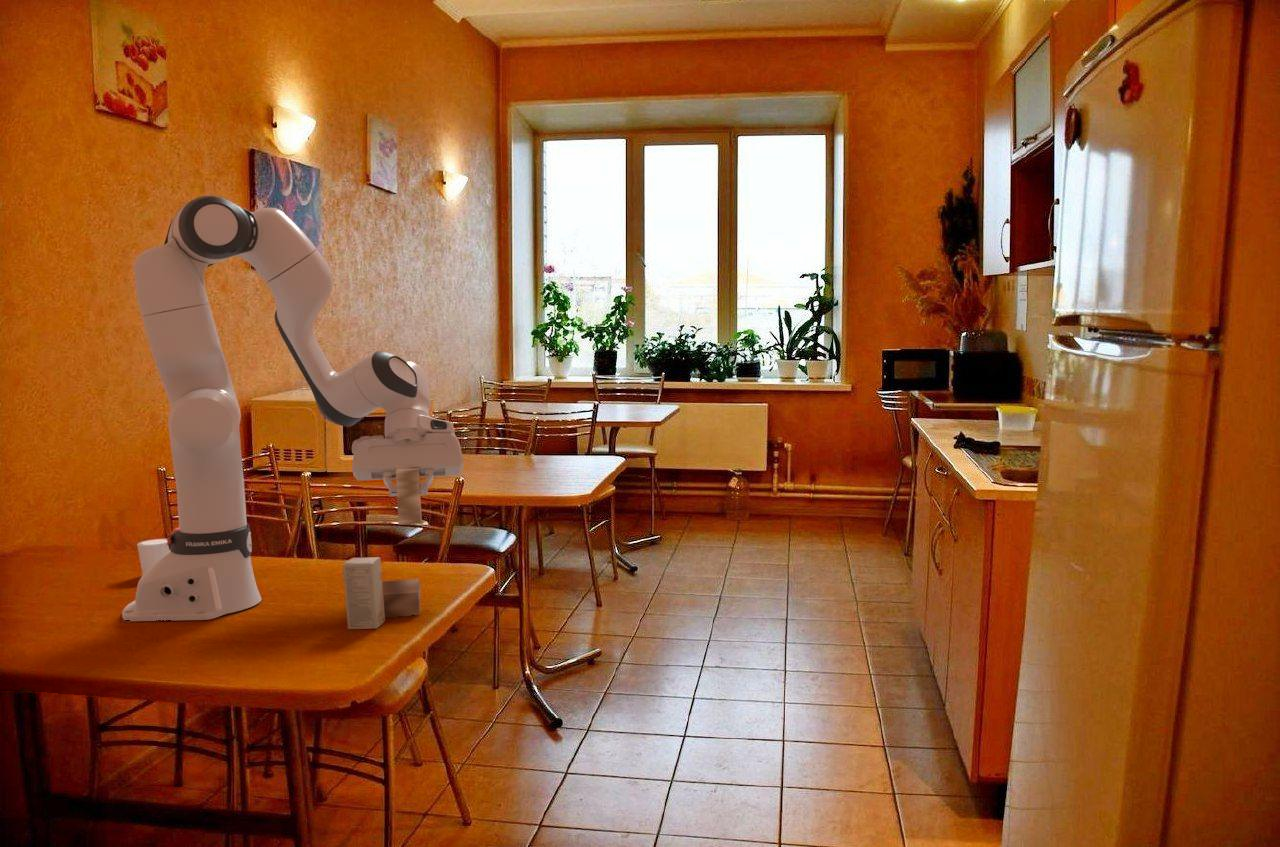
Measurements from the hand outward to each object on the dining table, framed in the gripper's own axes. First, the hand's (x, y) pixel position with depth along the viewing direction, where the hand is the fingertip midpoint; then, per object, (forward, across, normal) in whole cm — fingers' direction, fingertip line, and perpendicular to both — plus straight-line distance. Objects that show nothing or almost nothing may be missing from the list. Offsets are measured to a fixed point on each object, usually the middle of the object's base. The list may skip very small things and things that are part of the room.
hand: (408, 493), depth 184 cm
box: (+27, -7, -1) cm, 28 cm away
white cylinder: (-5, -51, +31) cm, 60 cm away
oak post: (+3, 0, +4) cm, 5 cm away
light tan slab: (+21, -3, +5) cm, 22 cm away
